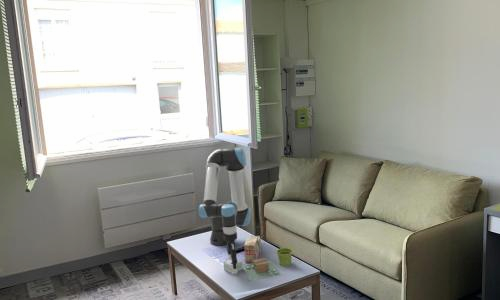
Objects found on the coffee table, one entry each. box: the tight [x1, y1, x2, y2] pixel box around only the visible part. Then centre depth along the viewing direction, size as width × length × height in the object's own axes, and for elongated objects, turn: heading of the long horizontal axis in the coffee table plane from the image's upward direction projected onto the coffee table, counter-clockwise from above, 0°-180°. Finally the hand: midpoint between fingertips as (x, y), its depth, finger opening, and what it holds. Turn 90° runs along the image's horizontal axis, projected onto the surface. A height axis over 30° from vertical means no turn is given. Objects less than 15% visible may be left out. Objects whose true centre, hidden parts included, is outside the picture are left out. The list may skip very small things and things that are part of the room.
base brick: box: [252, 257, 269, 273], centre depth 234 cm, size 7×7×5 cm
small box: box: [223, 258, 244, 274], centre depth 237 cm, size 8×8×5 cm
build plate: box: [242, 259, 283, 281], centre depth 235 cm, size 20×18×2 cm
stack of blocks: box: [243, 235, 262, 263], centre depth 255 cm, size 21×6×12 cm, turn 170°
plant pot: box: [275, 247, 294, 267], centre depth 240 cm, size 9×9×9 cm
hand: (233, 269), depth 238 cm, fingers closed on small box, 10 cm apart
